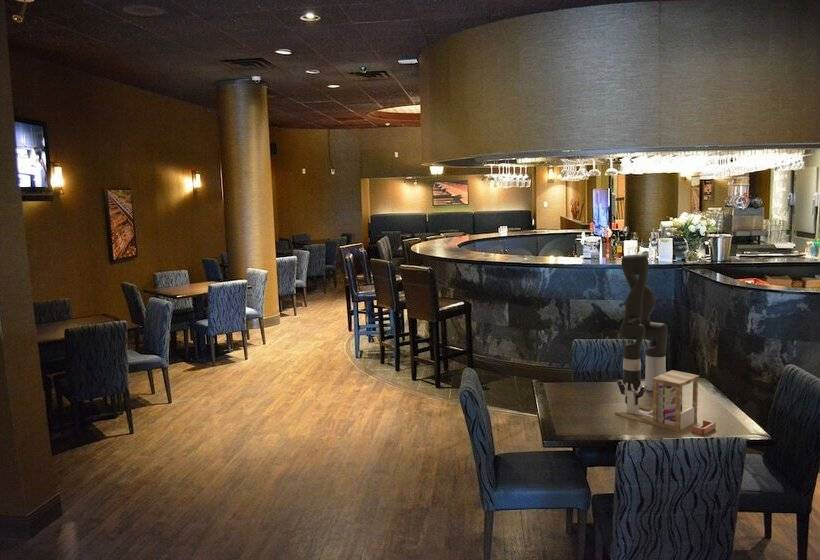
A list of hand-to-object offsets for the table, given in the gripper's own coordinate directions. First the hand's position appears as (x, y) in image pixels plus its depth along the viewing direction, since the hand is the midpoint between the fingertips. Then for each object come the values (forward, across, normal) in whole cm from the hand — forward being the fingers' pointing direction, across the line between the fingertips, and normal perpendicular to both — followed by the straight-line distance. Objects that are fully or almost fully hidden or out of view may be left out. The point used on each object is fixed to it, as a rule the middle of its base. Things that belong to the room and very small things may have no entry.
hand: (631, 404), depth 302 cm
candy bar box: (+3, -18, 0) cm, 18 cm away
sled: (+3, -13, 0) cm, 13 cm away
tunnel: (+3, -12, 0) cm, 12 cm away
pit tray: (+3, -33, 0) cm, 33 cm away
